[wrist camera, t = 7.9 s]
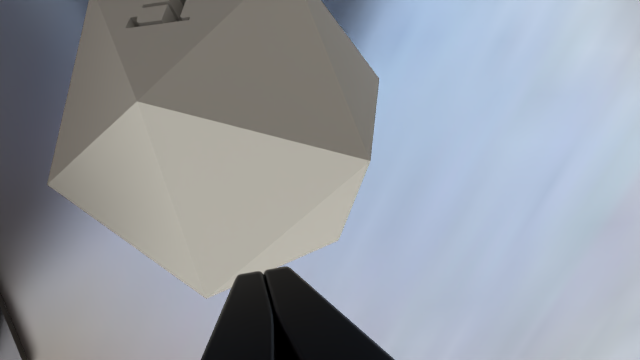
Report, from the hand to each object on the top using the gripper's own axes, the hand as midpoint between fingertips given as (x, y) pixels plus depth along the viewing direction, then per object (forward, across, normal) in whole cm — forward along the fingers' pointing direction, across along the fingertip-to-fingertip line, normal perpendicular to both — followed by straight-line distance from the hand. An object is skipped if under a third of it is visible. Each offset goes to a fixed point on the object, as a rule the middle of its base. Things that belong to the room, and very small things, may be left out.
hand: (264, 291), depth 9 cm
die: (+11, 0, 0) cm, 11 cm away
